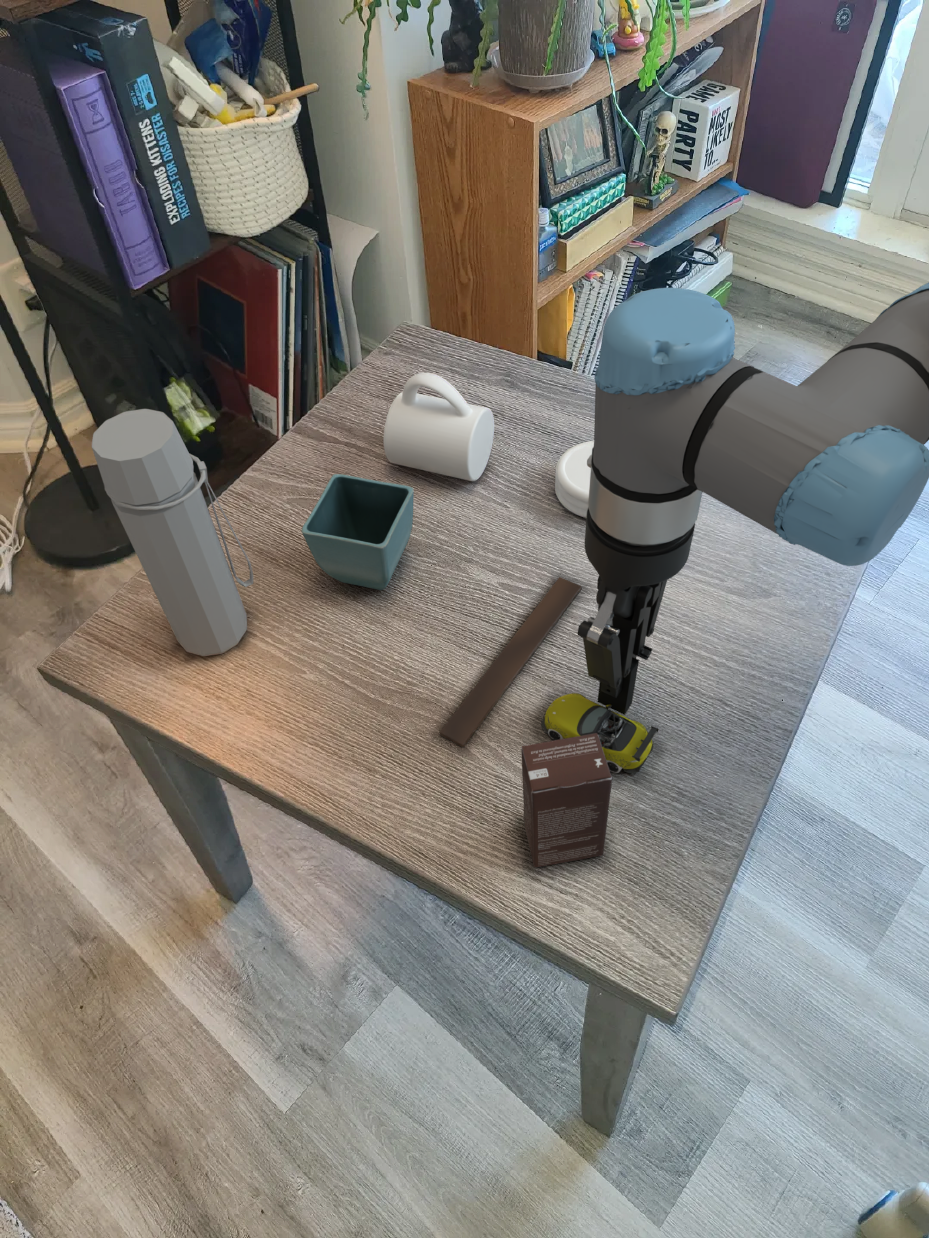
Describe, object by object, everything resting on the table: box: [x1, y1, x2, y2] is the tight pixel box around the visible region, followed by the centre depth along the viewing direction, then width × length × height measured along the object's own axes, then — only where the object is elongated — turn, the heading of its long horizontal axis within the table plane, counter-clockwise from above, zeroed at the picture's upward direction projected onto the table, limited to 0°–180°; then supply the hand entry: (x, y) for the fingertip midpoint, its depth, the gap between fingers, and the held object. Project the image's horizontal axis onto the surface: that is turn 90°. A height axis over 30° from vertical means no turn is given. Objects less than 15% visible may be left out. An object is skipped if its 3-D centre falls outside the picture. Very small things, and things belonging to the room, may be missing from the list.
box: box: [521, 733, 613, 868], centre depth 69 cm, size 6×4×12 cm
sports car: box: [540, 692, 660, 775], centre depth 79 cm, size 5×10×3 cm, turn 56°
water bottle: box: [91, 408, 254, 657], centre depth 81 cm, size 9×8×25 cm
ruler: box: [438, 576, 583, 748], centre depth 86 cm, size 3×22×1 cm, turn 147°
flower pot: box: [301, 473, 415, 591], centre depth 91 cm, size 9×9×9 cm
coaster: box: [554, 440, 594, 519], centre depth 99 cm, size 10×10×4 cm
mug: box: [382, 372, 495, 482], centre depth 100 cm, size 8×10×12 cm
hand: (614, 702), depth 80 cm, fingers closed
